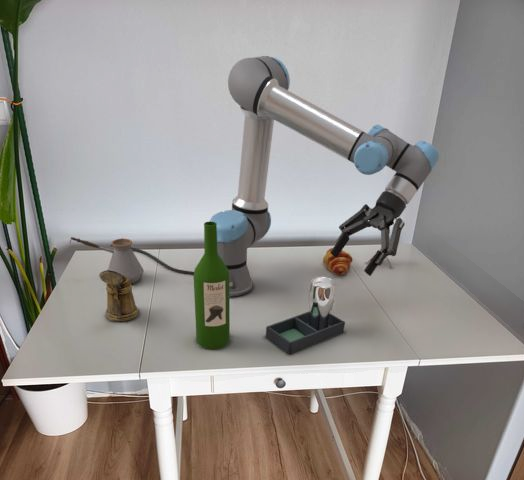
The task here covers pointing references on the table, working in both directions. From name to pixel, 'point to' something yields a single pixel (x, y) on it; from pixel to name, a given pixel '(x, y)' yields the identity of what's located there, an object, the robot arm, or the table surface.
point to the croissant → (337, 262)
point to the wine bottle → (211, 294)
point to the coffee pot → (121, 258)
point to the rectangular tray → (296, 340)
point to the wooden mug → (119, 297)
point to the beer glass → (321, 301)
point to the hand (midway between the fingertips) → (349, 264)
